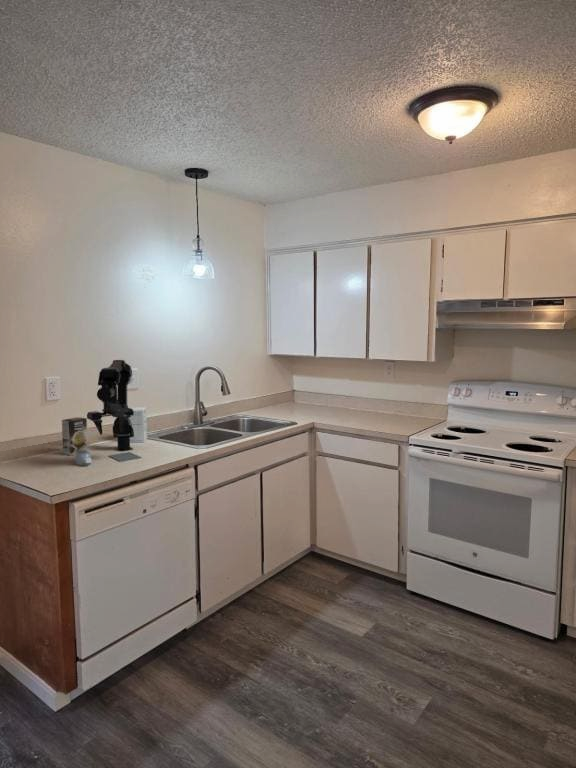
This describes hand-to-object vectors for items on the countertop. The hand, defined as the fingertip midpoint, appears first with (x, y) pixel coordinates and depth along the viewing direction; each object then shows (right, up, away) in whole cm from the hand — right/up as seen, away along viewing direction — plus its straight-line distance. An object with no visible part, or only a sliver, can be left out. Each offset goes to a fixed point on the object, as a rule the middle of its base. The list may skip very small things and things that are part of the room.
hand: (111, 433), depth 218 cm
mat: (+2, -12, +11) cm, 16 cm away
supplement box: (-2, -8, +43) cm, 44 cm away
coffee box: (-23, -11, +17) cm, 31 cm away
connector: (-11, -13, -1) cm, 17 cm away
